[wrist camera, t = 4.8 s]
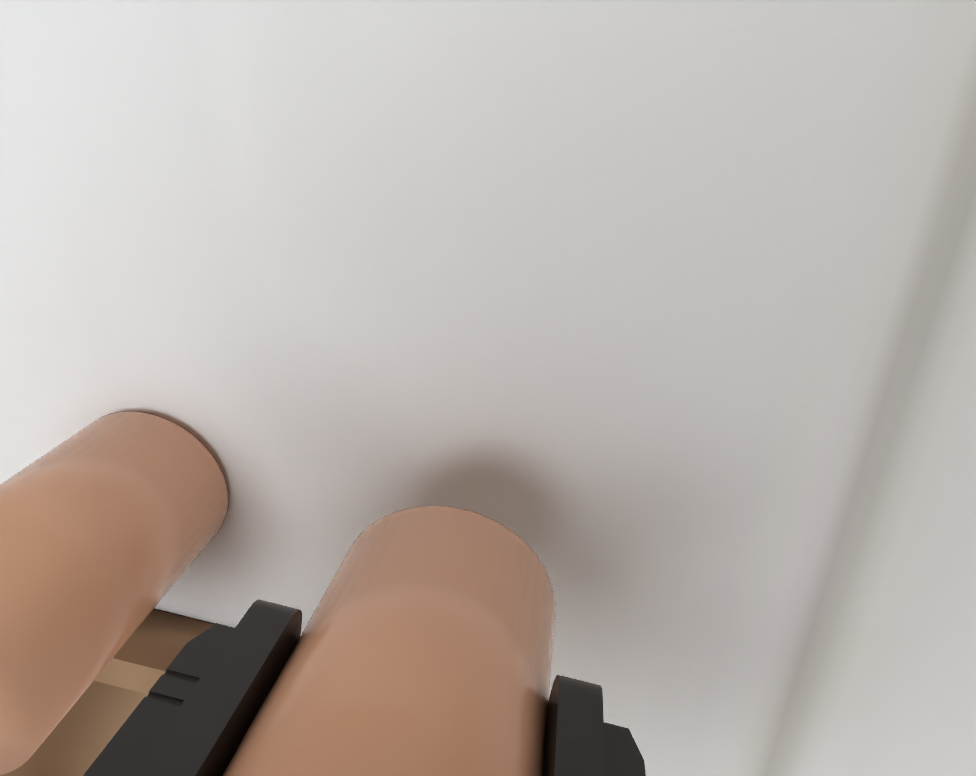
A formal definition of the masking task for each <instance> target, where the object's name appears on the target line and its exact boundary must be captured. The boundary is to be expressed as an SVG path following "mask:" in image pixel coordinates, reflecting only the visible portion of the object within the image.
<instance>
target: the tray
mask: <svg viewBox="0 0 976 776" xmlns="http://www.w3.org/2000/svg"><path fill="white" fill-rule="evenodd" d="M213 625H215V624H211V623H207V622H203V621H199V620H195V619H191V618H187V617H183V616H179V615H175V614H171V613H167V612H163V611H159V610H155V609H153V610H152V611H151V612H150V613H149V615H148V616H147V617H146V618H145V620H144V621H143V622H142V623H141V624H140V626H139V627H138V628H137V629H136V630H135V632H134V633H133V634H132V635H131V636H130V638H129V639H128V640H127V641H126V642H125V644H124V645H123V646H122V647H121V649H120V650H119V651H118V652H117V653H116V655H115V656H114V657H113V658H112V659H111V661H110V662H109V663H108V664H107V665H106V667H105V668H104V669H103V670H102V672H101V673H100V674H99V675H98V676H97V678H96V679H95V680H94V681H93V682H92V684H91V685H90V686H89V687H88V688H87V690H86V691H85V692H84V693H83V695H82V696H81V697H80V698H79V699H78V701H77V702H76V703H75V704H74V705H73V707H72V708H71V709H70V710H69V711H68V713H67V714H66V715H65V716H64V718H63V719H62V720H61V721H60V722H59V724H58V725H57V726H56V727H55V728H54V730H53V731H52V732H51V733H50V734H49V736H48V737H47V738H46V739H45V741H44V742H43V743H42V744H41V745H40V747H39V748H38V749H37V750H36V751H35V753H34V754H33V755H32V756H31V757H30V759H29V760H28V761H26V762H25V763H24V764H23V765H22V766H20V767H19V768H17V769H15V770H13V771H11V772H8V773H6V774H2V775H0V776H83V775H84V774H85V772H86V771H87V770H88V768H89V767H90V766H91V765H92V763H93V762H94V761H95V759H96V758H97V757H98V756H99V754H100V753H101V752H102V751H103V749H104V748H105V747H106V745H107V744H108V743H109V742H110V740H111V739H112V738H113V736H114V735H115V734H116V733H117V731H118V730H119V729H120V728H121V726H122V725H123V724H124V722H125V721H126V720H127V719H128V717H129V716H130V715H131V713H132V712H133V711H134V710H135V708H136V707H137V706H138V705H139V703H140V702H141V701H142V699H143V698H144V697H147V696H148V694H149V690H150V689H151V688H152V687H153V685H154V684H155V683H156V682H157V680H158V679H159V678H160V676H161V675H162V674H163V675H164V674H165V672H166V669H167V667H168V666H169V665H170V664H171V662H172V661H173V660H174V659H175V657H176V656H177V655H178V653H179V652H180V651H181V650H182V648H183V647H184V646H185V644H186V643H187V642H189V641H190V640H192V639H193V638H195V637H196V636H198V635H199V634H201V633H203V632H204V631H206V630H207V629H209V628H210V627H212V626H213Z"/></svg>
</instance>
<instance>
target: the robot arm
mask: <svg viewBox="0 0 976 776" xmlns="http://www.w3.org/2000/svg"><path fill="white" fill-rule="evenodd" d="M301 623H302V612H301V610H299V609H295V608H291V607H287V606H283V605H279V604H275V603H271V602H267V601H263V600H257V601H255V602H254V603H253V604H252V606H251V607H250V608H249V610H248V611H247V612H246V614H245V615H244V617H243V618H242V619H241V621H240V622H239V624H238V625H237V627H236V628H232V627H228V626H224V625H220V624H215V625H213V626H212V627H210V628H209V629H207V630H206V631H204V632H203V633H201V634H199V635H198V636H196V637H195V638H193V639H192V640H190V641H189V642H187V643H186V644H185V646H184V647H183V648H182V650H181V651H180V652H179V653H178V655H177V656H176V657H175V659H174V660H173V661H172V662H171V664H170V665H169V666H168V667H167V669H166V672H165V674H164V675H163V674H162V675H161V676H160V678H159V679H158V680H157V682H156V683H155V684H154V685H153V687H152V688H151V689H150V690H149V694H148V696H147V697H144V698H143V699H142V701H141V702H140V703H139V705H138V706H137V707H136V708H135V710H134V711H133V712H132V713H131V715H130V716H129V717H128V719H127V720H126V721H125V722H124V724H123V725H122V726H121V728H120V729H119V730H118V731H117V733H116V734H115V735H114V736H113V738H112V739H111V740H110V742H109V743H108V744H107V745H106V747H105V748H104V749H103V751H102V752H101V753H100V754H99V756H98V757H97V758H96V759H95V761H94V762H93V763H92V765H91V766H90V767H89V768H88V770H87V771H86V772H85V774H84V775H83V776H222V775H223V773H224V772H225V770H226V768H227V766H228V765H229V763H230V761H231V759H232V757H233V756H234V754H235V752H236V750H237V749H238V747H239V745H240V743H241V741H242V740H243V738H244V736H245V734H246V733H247V731H248V729H249V727H250V725H251V724H252V722H253V720H254V718H255V717H256V715H257V713H258V711H259V709H260V708H261V706H262V704H263V702H264V701H265V699H266V697H267V695H268V693H269V692H270V690H271V688H272V686H273V685H274V683H275V681H276V679H277V677H278V676H279V674H280V672H281V670H282V669H283V667H284V665H285V663H286V661H287V660H288V658H289V656H290V654H291V653H292V651H293V649H294V647H295V645H296V644H297V642H298V640H299V638H300V634H301ZM543 776H646V775H645V765H644V759H643V757H642V755H641V753H640V751H639V749H638V747H637V745H636V743H635V741H634V739H633V737H632V735H631V733H630V731H629V729H628V728H624V727H620V726H616V725H612V724H608V723H604V722H603V694H602V688H601V686H600V685H596V684H592V683H588V682H584V681H580V680H576V679H572V678H568V677H564V676H560V675H557V676H556V678H555V680H554V683H553V687H552V690H551V694H550V697H549V700H548V710H547V724H546V738H545V752H544V766H543Z"/></svg>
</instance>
